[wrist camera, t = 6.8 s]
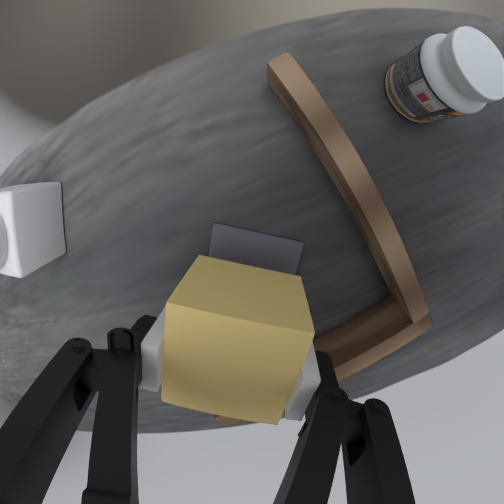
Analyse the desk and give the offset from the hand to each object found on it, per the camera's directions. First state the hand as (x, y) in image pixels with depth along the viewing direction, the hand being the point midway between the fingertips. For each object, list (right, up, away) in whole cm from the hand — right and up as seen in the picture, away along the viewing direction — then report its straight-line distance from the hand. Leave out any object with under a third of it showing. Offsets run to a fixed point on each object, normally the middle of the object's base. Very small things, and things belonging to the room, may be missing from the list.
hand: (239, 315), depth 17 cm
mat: (+1, +2, +7) cm, 7 cm away
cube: (0, 0, 0) cm, 0 cm away
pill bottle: (+14, +17, +1) cm, 22 cm away
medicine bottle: (-21, +7, +7) cm, 23 cm away
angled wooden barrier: (+1, +3, +6) cm, 7 cm away
